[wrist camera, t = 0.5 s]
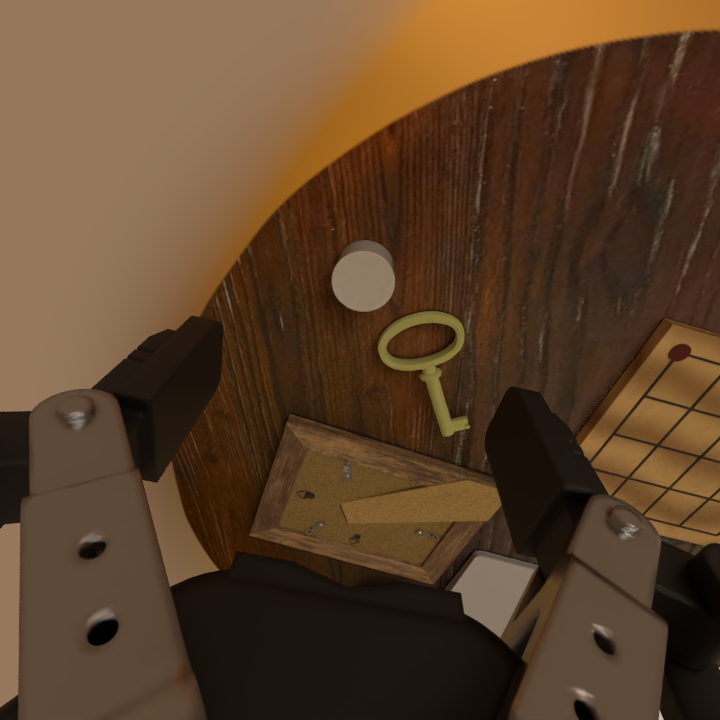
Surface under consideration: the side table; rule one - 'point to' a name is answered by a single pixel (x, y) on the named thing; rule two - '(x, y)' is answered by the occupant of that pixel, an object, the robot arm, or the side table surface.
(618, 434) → the game board
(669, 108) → the side table surface
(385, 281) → the white stone
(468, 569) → the electronic device
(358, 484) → the picture frame
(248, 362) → the side table surface
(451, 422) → the key
